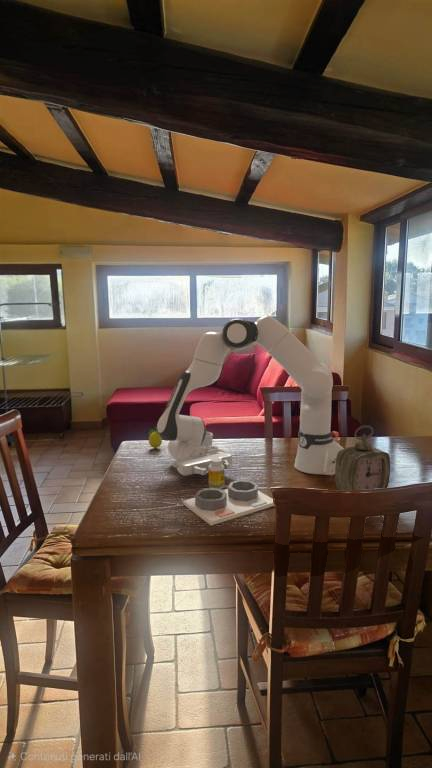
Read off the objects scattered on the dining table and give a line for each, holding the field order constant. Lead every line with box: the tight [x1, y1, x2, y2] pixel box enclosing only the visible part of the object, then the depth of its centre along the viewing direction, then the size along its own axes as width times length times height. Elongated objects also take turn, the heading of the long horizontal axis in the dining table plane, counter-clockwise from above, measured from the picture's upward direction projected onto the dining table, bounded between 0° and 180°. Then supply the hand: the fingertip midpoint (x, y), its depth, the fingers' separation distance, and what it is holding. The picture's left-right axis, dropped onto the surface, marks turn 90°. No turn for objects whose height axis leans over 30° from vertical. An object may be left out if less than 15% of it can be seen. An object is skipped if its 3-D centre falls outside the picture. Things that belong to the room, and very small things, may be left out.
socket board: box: [182, 479, 274, 526], centre depth 143 cm, size 24×16×4 cm, turn 123°
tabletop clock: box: [334, 425, 391, 491], centre depth 142 cm, size 14×9×25 cm, turn 114°
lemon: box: [148, 428, 163, 450], centre depth 195 cm, size 7×6×10 cm
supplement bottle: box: [208, 458, 225, 490], centre depth 156 cm, size 5×5×10 cm
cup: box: [202, 430, 214, 446], centre depth 192 cm, size 11×8×8 cm
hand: (216, 469), depth 156 cm, fingers open, 8 cm apart
